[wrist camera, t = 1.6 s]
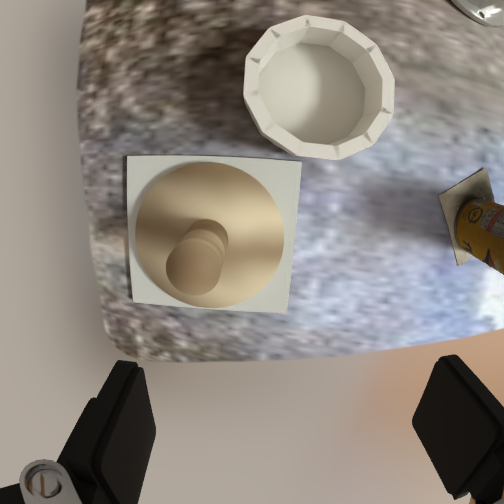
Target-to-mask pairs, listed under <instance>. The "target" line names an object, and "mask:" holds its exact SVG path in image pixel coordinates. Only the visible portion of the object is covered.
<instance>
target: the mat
mask: <svg viewBox="0 0 504 504" xmlns="http://www.w3.org/2000/svg"><path fill="white" fill-rule="evenodd" d="M203 162H214V163H222V164H226V165H230V166H233V167H236V168H238V169H241V170H243V171H244V172H246V173H248V174H250V175H251V176H252V177H254V178H255V179H256V180H258V181H259V182H260V183H261V184H262V185H263V186H264V187H265V188H266V190H267V191H268V192H269V193H270V195H271V196H272V198H273V200H274V201H275V203H276V205H277V207H278V210H279V212H280V215H281V218H282V222H283V228H284V248H283V254H282V257H281V260H280V263H279V265H278V268H277V270H276V272H275V273H274V275H273V276H272V278H271V280H270V281H269V282H268V283H267V284H266V285H265V287H263V288H262V289H261V290H260V291H259V292H258V293H256V294H255V295H254V296H252V297H251V298H249V299H247V300H245V301H243V302H241V303H238V304H235V305H232V306H228V307H222V308H204V309H218V310H233V311H251V312H271V313H287V305H288V297H289V288H290V280H291V271H292V262H293V252H294V243H295V233H296V223H297V212H298V201H299V190H300V178H301V165H302V162H299V161H287V160H274V159H260V158H243V157H221V156H181V155H150V156H127V216H128V240H129V257H130V271H131V283H132V294H133V302H137V303H147V304H157V305H168V306H179V307H191V308H203V307H196V306H192V305H188V304H186V303H183V302H181V301H179V300H177V299H175V298H173V297H171V296H170V295H168V294H167V293H165V292H164V291H163V290H162V289H161V288H159V287H158V286H157V285H156V284H155V282H154V281H153V280H152V279H151V278H150V276H149V275H148V273H147V272H146V270H145V268H144V267H143V265H142V263H141V260H140V257H139V255H138V251H137V247H136V239H135V226H136V220H137V215H138V212H139V209H140V206H141V204H142V202H143V200H144V198H145V197H146V195H147V194H148V192H149V191H150V190H151V188H152V187H153V186H154V185H155V184H156V183H157V182H158V181H159V180H160V179H161V178H163V177H164V176H166V175H167V174H169V173H170V172H172V171H174V170H176V169H178V168H181V167H184V166H187V165H190V164H196V163H203Z"/></svg>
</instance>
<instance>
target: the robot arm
mask: <svg viewBox="0 0 504 504" xmlns="http://www.w3.org/2000/svg"><path fill="white" fill-rule="evenodd" d="M451 1H452V2H453V3H454V4H455V5H456V6H457V7H458V8H459V9H460V10H461V11H463V12H464V13H465V14H466V15H468V16H469V17H471V18H472V19H473V20H475V21H477V22H479V23H481V24H483V25H486V26H490V27H499V26H502V25H504V0H451ZM412 425H413V428H414V429H415V431H416V433H417V435H418V437H419V439H420V440H421V442H422V444H423V446H424V448H425V450H426V451H427V454H428V455H429V457H430V459H431V461H432V463H433V465H434V467H435V469H436V471H437V473H438V474H439V477H440V479H441V480H442V482H443V484H444V486H445V488H446V490H447V492H448V493H449V494H452V496H453V498H454V500H456V499H458V498H461V497H463V496H465V495H467V494H468V493H469V492H470V494H471V499H470V503H469V504H504V407H503V406H502V405H501V404H500V402H499V401H498V400H497V399H496V398H495V397H494V395H493V394H492V393H491V392H490V391H489V390H488V389H487V387H486V386H485V385H484V384H483V383H482V382H481V381H480V379H479V378H478V377H477V376H476V375H475V374H474V373H473V372H472V371H471V370H470V368H469V367H468V366H467V365H466V364H465V363H464V362H463V361H462V360H461V359H460V358H459V356H457V355H455V354H454V355H448V356H442V357H440V358H439V360H438V361H437V362H436V363H435V365H434V368H433V370H432V373H431V376H430V378H429V381H428V383H427V386H426V388H425V390H424V393H423V395H422V398H421V400H420V403H419V405H418V407H417V409H416V411H415V413H414V416H413V419H412ZM155 436H156V426H155V422H154V417H153V413H152V409H151V404H150V399H149V395H148V390H147V385H146V379H145V374H144V370H143V368H141V367H138V364H137V363H136V362H131V361H123V360H118V361H117V362H116V363H115V365H114V367H113V369H112V371H111V372H110V374H109V376H108V378H107V380H106V382H105V383H104V385H103V387H102V389H101V390H100V392H99V394H98V396H97V398H91V399H90V400H89V402H88V403H87V405H86V407H85V408H84V410H83V412H82V414H81V416H80V418H79V419H78V421H77V423H76V425H75V427H74V429H73V431H72V433H71V435H70V436H69V438H68V440H67V442H66V444H65V446H64V448H63V450H62V452H61V454H60V456H59V458H58V460H57V462H54V461H52V460H45V459H43V460H36V461H34V462H32V463H30V464H28V465H27V466H26V467H25V468H24V469H23V471H22V472H21V475H20V479H19V481H20V483H18V484H14V485H11V486H7V487H4V488H0V504H138V501H139V497H140V492H141V489H142V485H143V481H144V477H145V473H146V469H147V466H148V462H149V458H150V454H151V451H152V447H153V443H154V440H155Z"/></svg>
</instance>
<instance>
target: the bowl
mask: <svg viewBox="0 0 504 504" xmlns="http://www.w3.org/2000/svg"><path fill="white" fill-rule="evenodd" d="M243 97H244V102H245V105H246V107H247V109H248V111H249V113H250V115H251V117H252V120H253V121H254V123H255V125H256V126H257V128H258V130H259V132H260V134H262V136H263V137H265V138H266V139H268V140H269V141H270V142H272V143H273V144H274V145H276V146H278V147H279V148H281V149H283V150H284V151H286V152H287V153H289V154H290V155H295V156H304V157H314V158H323V159H332V160H341V159H343V158H345V157H347V156H350V155H352V154H354V153H356V152H359V151H361V150H363V149H365V148H368V147H370V146H372V145H374V143H375V142H376V141H377V139H378V138H379V136H380V135H381V133H382V132H383V130H384V129H385V127H386V126H387V124H388V123H389V121H390V120H391V118H392V117H393V113H394V77H393V75H392V73H391V71H390V69H389V67H388V65H387V63H386V61H385V59H384V57H383V55H382V53H381V51H380V50H379V48H378V46H377V45H376V44H375V43H374V42H373V41H371V40H370V39H369V38H367V37H366V36H364V35H363V34H362V33H360V32H359V31H358V30H356V29H355V28H353V27H352V26H350V25H349V24H348V23H346V22H344V21H339V20H334V19H328V18H322V17H316V16H309V15H306V16H305V15H304V16H301V17H298V18H295V19H292V20H289V21H286V22H283V23H280V24H278V25H275V26H272V27H270V28H268V30H267V31H266V32H265V33H264V35H263V36H262V37H261V38H260V40H259V41H258V42H257V43H256V45H255V46H254V47H253V49H252V50H251V51H250V52H249V54H248V55H247V56H246V63H245V77H244V92H243Z"/></svg>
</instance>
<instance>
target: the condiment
mask: <svg viewBox="0 0 504 504" xmlns="http://www.w3.org/2000/svg"><path fill="white" fill-rule="evenodd" d="M438 197H439V199H440V202H441V205H442V209H443V212H444V214H445V218H446V221H447V225H448V228H449V233H450V236H451V240H452V244H453V247H454V252H455V255H456V259H457V263H458V266H460V265H461V264H463V263H464V262H466V261H467V260H469V259H470V258H471V257H472V256H474V257H476V258H478V259H479V260H481V261H482V262H484V263H486V264H487V265H489V266H490V267H492V268H494V269H496V270H497V271H499V272H500V273H502V274H503V275H504V206H503V205H500V204H497V203H495V202H494V196H493V193H492V189H491V185H490V181H489V176H488V173H487V170H486V168H485V169H483V170H481V171H479V172H478V173H476V174H474V175H473V176H471V177H469V178H467V179H466V180H464V181H462V182H461V183H459V184H457V185H456V186H454V187H453V188H451V189H449V190H447V191H446V192H445V193H443V194H441V195H439V196H438ZM484 198H485V199H484ZM458 203H459V206H458ZM457 207H458V210H457Z"/></svg>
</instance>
